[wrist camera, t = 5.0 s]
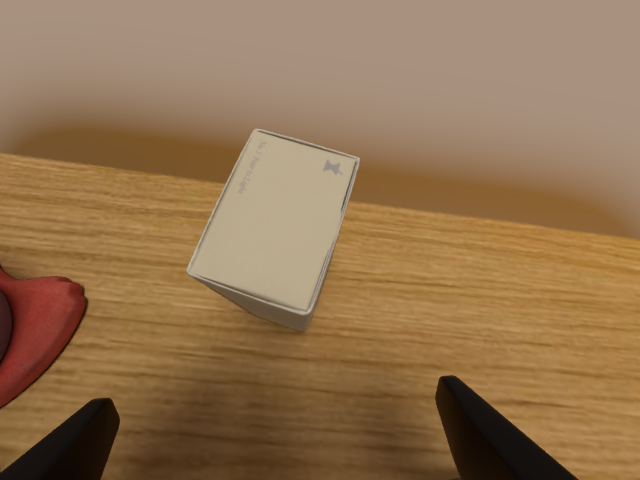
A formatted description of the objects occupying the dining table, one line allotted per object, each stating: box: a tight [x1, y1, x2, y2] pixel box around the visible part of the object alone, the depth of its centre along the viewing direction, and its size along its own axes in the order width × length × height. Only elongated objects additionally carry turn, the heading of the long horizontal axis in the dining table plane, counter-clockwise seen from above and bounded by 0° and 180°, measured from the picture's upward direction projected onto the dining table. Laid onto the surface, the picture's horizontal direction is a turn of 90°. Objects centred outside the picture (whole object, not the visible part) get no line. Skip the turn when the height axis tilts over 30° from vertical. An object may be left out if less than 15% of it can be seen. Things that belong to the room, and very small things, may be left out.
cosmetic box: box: [186, 129, 360, 332], centre depth 16 cm, size 6×4×12 cm
